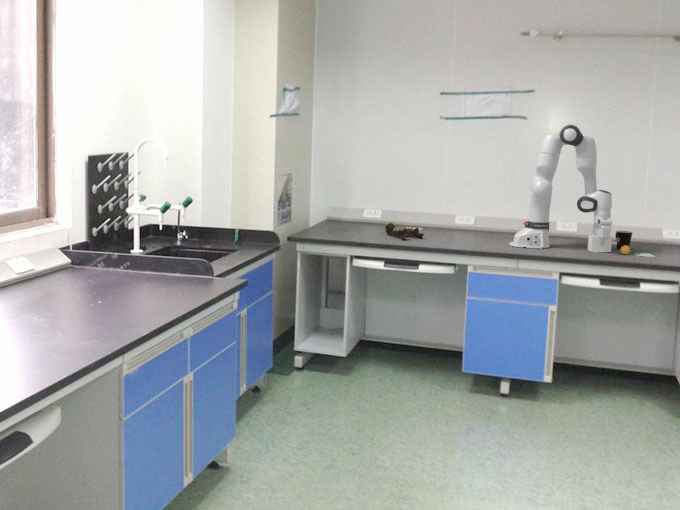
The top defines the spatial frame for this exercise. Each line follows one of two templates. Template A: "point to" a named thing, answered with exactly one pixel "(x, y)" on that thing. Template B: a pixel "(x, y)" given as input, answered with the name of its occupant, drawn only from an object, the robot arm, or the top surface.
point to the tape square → (645, 255)
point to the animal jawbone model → (402, 231)
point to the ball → (625, 249)
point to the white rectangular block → (598, 244)
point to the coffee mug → (623, 238)
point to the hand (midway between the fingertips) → (599, 244)
